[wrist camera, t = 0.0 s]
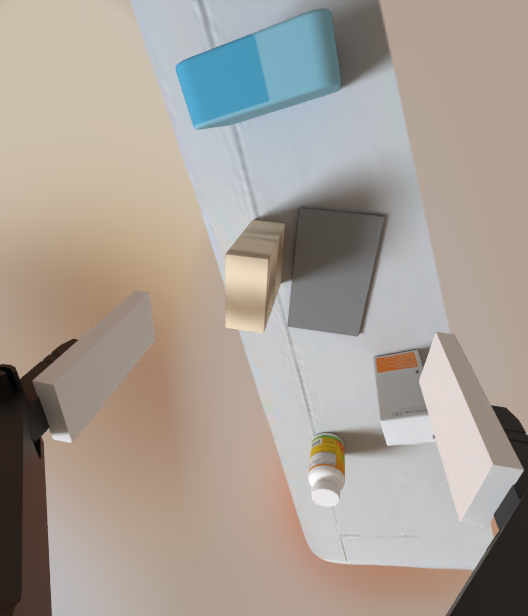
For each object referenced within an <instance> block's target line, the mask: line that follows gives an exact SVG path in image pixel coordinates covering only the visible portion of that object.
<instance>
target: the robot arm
mask: <svg viewBox="0 0 528 616" xmlns="http://www.w3.org/2000/svg"><path fill="white" fill-rule="evenodd" d="M154 341H155V334H154V326H153V318H152V310H151V302H150V295H149V293H148V292H141V291H133V293H131V294H130V295H129V296H128V297H127V298H126V299H124V300H123V301H122V302H121V303H120V304H119V305H118V306H116V307H115V308H114V309H113V310H112V311H111V312H110V313H109V314H108V315H106V316H105V317H104V318H103V319H102V320H101V321H100V322H98V323H97V324H96V325H95V326H94V327H93V328H92V329H91V330H89V331H88V332H87V333H86V334H85V335H84V336H82V337H81V338H80V339H79V340H77V339H72V340H70V341H68V342H66V343H64V344H62V345H60V346H59V347H58V348H56V349H55V350H54V351H53V352H52V353H51V355H48V356H47V357H46V358H44V359H43V362H40V363H39V364H37V365H36V366H35V367H34V368H33V369H31V370H30V371H29V372H28V373H27V374H25V375H24V376H23V377H22V378H21V379H19V376H18V373H17V371H16V368H15V367H13V366H12V365H6V364H1V365H0V616H52V610H51V590H50V568H49V547H48V525H47V504H46V482H45V463H44V442H43V440H42V437H41V436H42V435H43V434H44V433H45V432H46V431H47V429H48V428H49V429H50V432H51V435H52V438H53V439H54V440H59V441H63V442H68V443H73V442H74V440H75V439H76V438H77V437H78V436H79V434H80V433H81V432H82V430H83V429H84V428H85V427H86V426H87V424H88V423H89V422H90V421H91V419H92V418H93V417H94V416H95V414H96V413H97V412H98V411H99V409H100V408H101V407H102V406H103V404H104V403H105V402H106V401H107V399H108V398H109V397H110V396H111V394H112V393H113V392H114V391H115V389H116V388H117V387H118V386H119V384H120V383H121V382H122V381H123V379H124V378H125V377H126V376H127V374H128V373H129V372H130V371H131V369H132V368H133V367H134V366H135V364H136V363H137V362H138V361H139V359H140V358H141V357H142V356H143V354H144V353H145V352H146V351H147V350H148V348H149V347H150V346H151V344H152V343H153V342H154ZM419 383H420V387H421V390H422V394H423V397H424V401H425V404H426V407H427V411H428V414H429V418H430V421H431V425H432V428H433V431H434V435H435V438H436V442H437V445H438V449H439V452H440V455H441V459H442V462H443V466H444V469H445V473H446V476H447V480H448V483H449V486H450V490H451V493H452V497H453V500H454V504H455V507H456V510H457V514H458V517H459V521H460V523H464V524H469V525H474V526H479V527H484V528H487V527H488V525H489V524H490V522H491V520H492V519H493V517H495V520H496V523H497V525H498V528H499V532H498V533H497V535H496V536H495V538H494V539H493V540H492V542H491V543H490V545H489V546H488V548H487V549H486V552H485V554H484V555H483V557H482V558H481V560H480V562H479V563H478V565H477V566H476V568H475V570H474V571H473V573H472V574H471V576H470V578H469V579H468V581H467V582H466V584H465V585H464V587H463V589H462V590H461V592H460V594H459V595H458V597H457V598H456V600H455V601H454V603H453V605H452V606H451V608H450V610H449V611H448V613H447V614H446V616H528V435H526V434H525V433H526V432H525V430H524V428H523V427H522V425H521V423H520V421H519V420H518V419H517V418H516V417H515V416H514V415H513V414H512V413H511V412H510V411H509V410H508V409H507V408H504V407H498V406H492V405H490V403H489V401H488V399H487V397H486V395H485V393H484V391H483V389H482V387H481V385H480V383H479V381H478V379H477V377H476V375H475V373H474V371H473V369H472V367H471V365H470V363H469V361H468V360H467V358H466V356H465V354H464V352H463V350H462V348H461V346H460V344H459V342H458V340H457V338H456V336H455V335H454V334H447V333H439V332H436V334H435V336H434V339H433V342H432V345H431V348H430V351H429V354H428V356H427V359H426V362H425V365H424V368H423V371H422V374H421V376H420V379H419Z"/></svg>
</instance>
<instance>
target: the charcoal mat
mask: <svg viewBox="0 0 528 616" xmlns="http://www.w3.org/2000/svg"><path fill="white" fill-rule="evenodd" d="M383 222H384V216H382V215H371V214H361V213H351V212H340V211H330V210H320V209H309V208H299V217H298V227H297V237H296V247H295V257H294V267H293V277H292V287H291V297H290V307H289V317H288V327H295V328H302V329H309V330H316V331H323V332H330V333H337V334H344V335H351V336H358V335H359V331H360V326H361V321H362V317H363V312H364V308H365V303H366V299H367V294H368V290H369V285H370V281H371V276H372V272H373V267H374V262H375V258H376V253H377V249H378V244H379V240H380V235H381V231H382V226H383Z"/></svg>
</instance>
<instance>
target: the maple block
mask: <svg viewBox="0 0 528 616" xmlns="http://www.w3.org/2000/svg"><path fill="white" fill-rule="evenodd" d="M285 225H286V223H279V222H270V221H260V220H252V222H251V223H250V224H249V225H248V227H247V228H246V229H245V230H244V232H243V233H242V234H241V235H240V237H239V238H238V239H237V240H236V242H235V243H234V244H233V245H232V247H231V248H230V249H229V250H228V252H227V253H226V254H225V284H226V328H233V329H239V330H246V331H253V332H260V333H264V331H265V328H266V325H267V322H268V319H269V316H270V313H271V310H272V307H273V304H274V302H275V299H276V296H277V293H278V290H279V287H280V284H281V273H282V261H283V249H284V237H285Z"/></svg>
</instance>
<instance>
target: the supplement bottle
mask: <svg viewBox="0 0 528 616" xmlns="http://www.w3.org/2000/svg"><path fill="white" fill-rule="evenodd" d="M308 478H309V483H310V485H311V486H312V499H313V500H314V502H315V503H317V504H319V505H321V506H326V507H331V506H335V505H337V504H338V503H339V501H340V490H341V489H342V488H343V486H344V483H345V457H344V443H343V441H342V440H341V438H339V437H338V436H336V435H334V434H331V433H321V434H318V435H316V436H315V437H314V438H313V439H312V442H311V451H310V464H309V477H308Z"/></svg>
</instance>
